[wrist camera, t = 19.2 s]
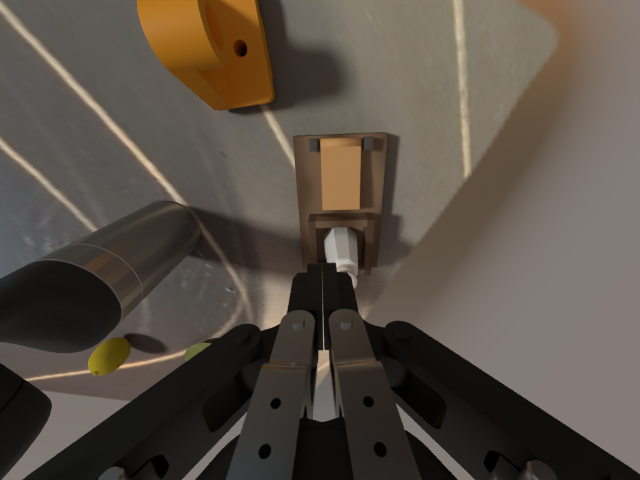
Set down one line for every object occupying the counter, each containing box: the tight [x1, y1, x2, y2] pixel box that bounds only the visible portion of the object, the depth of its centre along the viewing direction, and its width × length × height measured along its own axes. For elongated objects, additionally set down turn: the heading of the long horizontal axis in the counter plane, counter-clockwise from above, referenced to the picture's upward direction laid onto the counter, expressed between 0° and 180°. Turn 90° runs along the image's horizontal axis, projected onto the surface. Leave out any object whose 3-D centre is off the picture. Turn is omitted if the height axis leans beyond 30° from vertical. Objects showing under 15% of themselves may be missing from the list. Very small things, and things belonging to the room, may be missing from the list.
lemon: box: [88, 337, 131, 375], centre depth 47 cm, size 6×6×8 cm
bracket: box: [137, 0, 275, 111], centre depth 23 cm, size 11×7×12 cm, turn 7°
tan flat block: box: [320, 137, 361, 210], centre depth 32 cm, size 5×9×1 cm, turn 2°
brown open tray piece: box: [293, 132, 388, 276], centre depth 35 cm, size 12×20×5 cm, turn 2°
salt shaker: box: [324, 227, 358, 289], centre depth 32 cm, size 5×5×11 cm
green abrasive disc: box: [185, 343, 212, 362], centre depth 52 cm, size 11×11×2 cm
